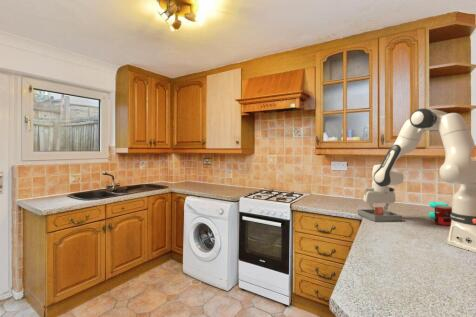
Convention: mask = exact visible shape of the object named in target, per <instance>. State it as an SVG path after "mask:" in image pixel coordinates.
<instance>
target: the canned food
mask: <svg viewBox="0 0 476 317" xmlns="http://www.w3.org/2000/svg"><path fill="white" fill-rule="evenodd" d="M434 212H435V218H433V220H434V224H435V225H437V226H444V227H451V216H450V215H451V212H452V206H449V205H448V206H446V205H435V208H434Z"/></svg>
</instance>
